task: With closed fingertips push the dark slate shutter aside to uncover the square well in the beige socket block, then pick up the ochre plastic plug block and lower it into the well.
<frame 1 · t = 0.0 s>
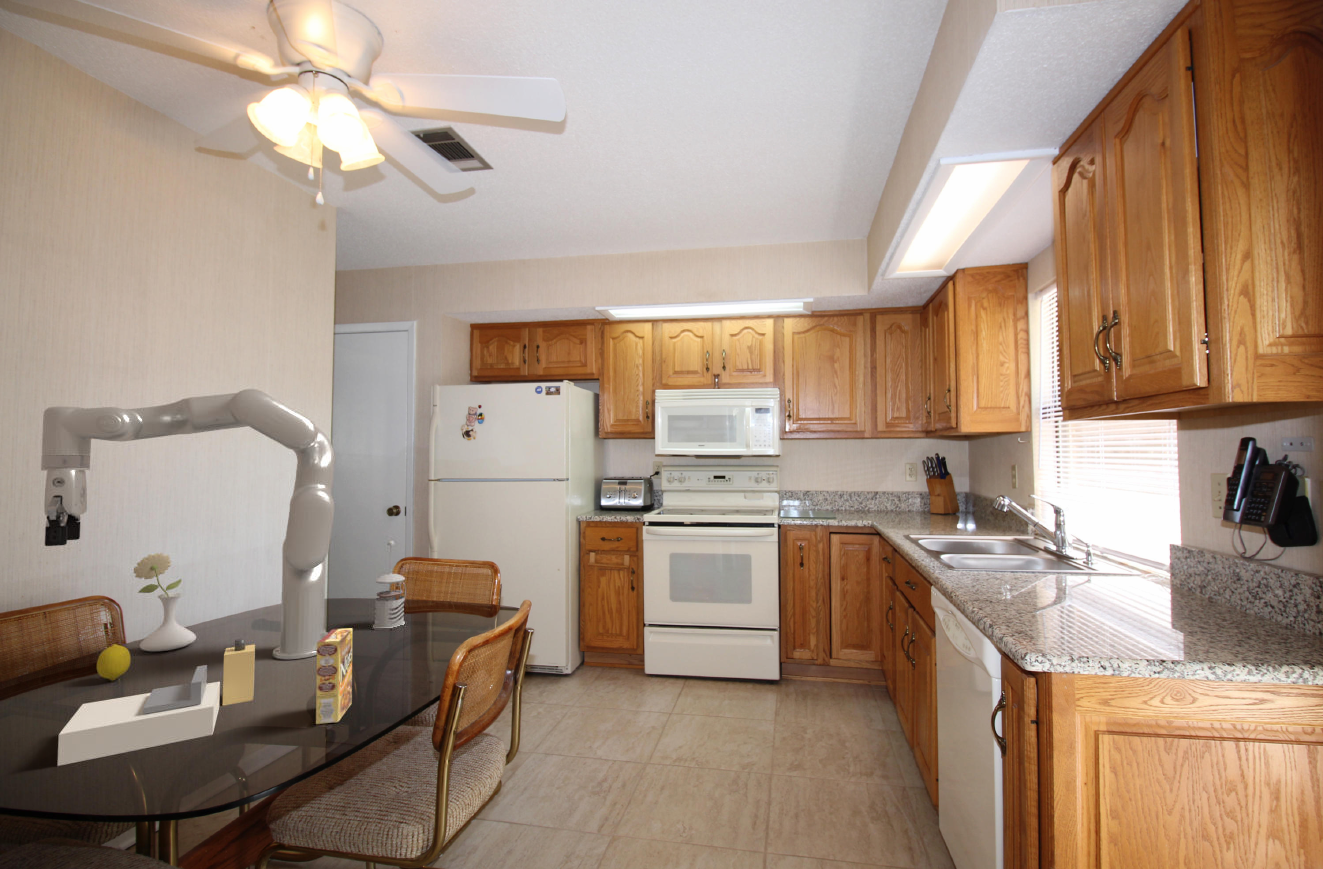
hand: (62, 542, 128), 31 cm above the table, fingers open, 9 cm apart
french press: (391, 625, 176), on the table
shutter: (176, 688, 109), point 7 cm above the table, slide at 0.0 cm
plug: (238, 698, 122), on the table
candy box: (334, 715, 115), on the table
socket: (146, 733, 107), on the table
lemon: (113, 681, 132), on the table
flower in vase: (164, 649, 154), on the table
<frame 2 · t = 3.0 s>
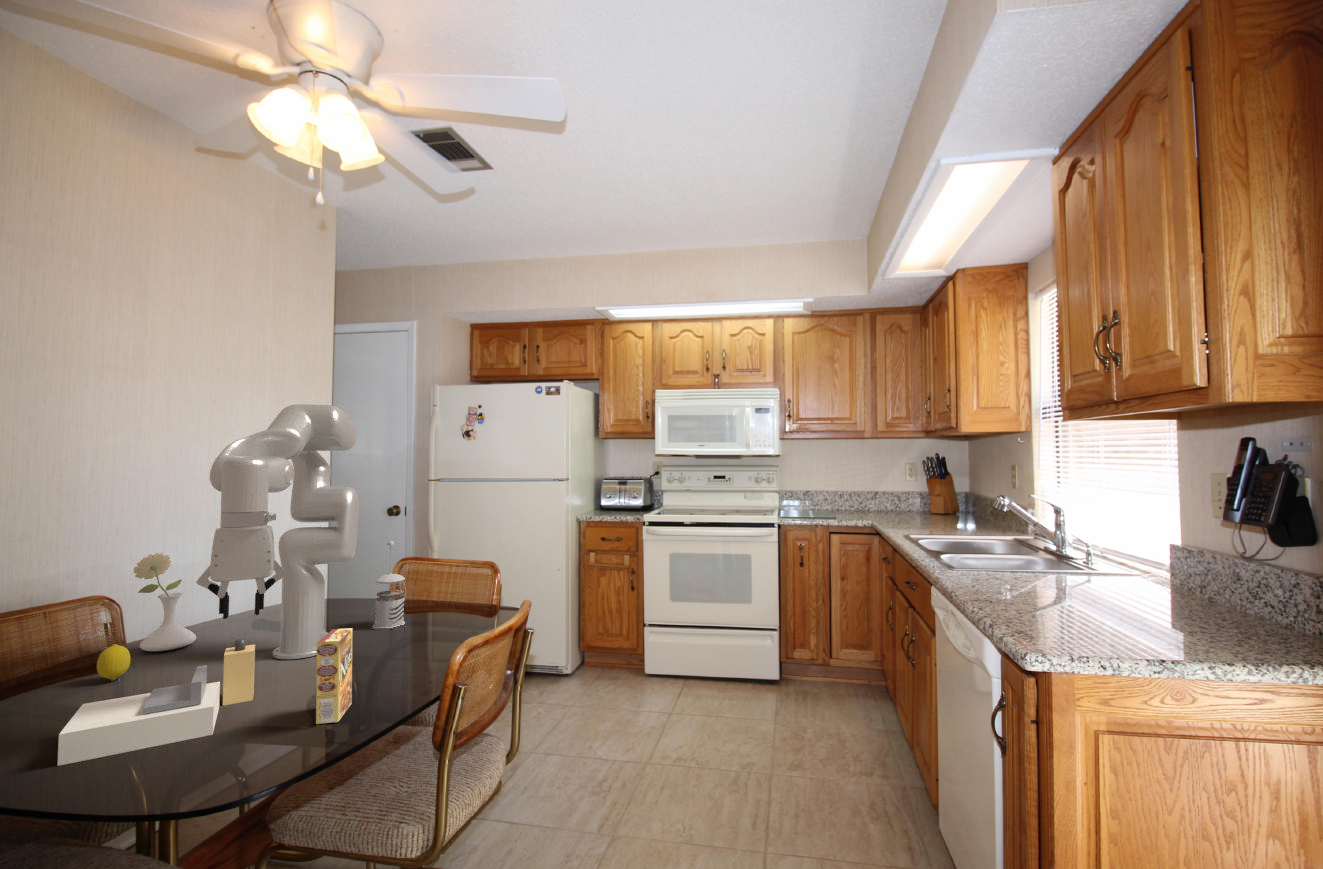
hand: (241, 614, 115), 19 cm above the table, fingers open, 4 cm apart
nothing on the table moved.
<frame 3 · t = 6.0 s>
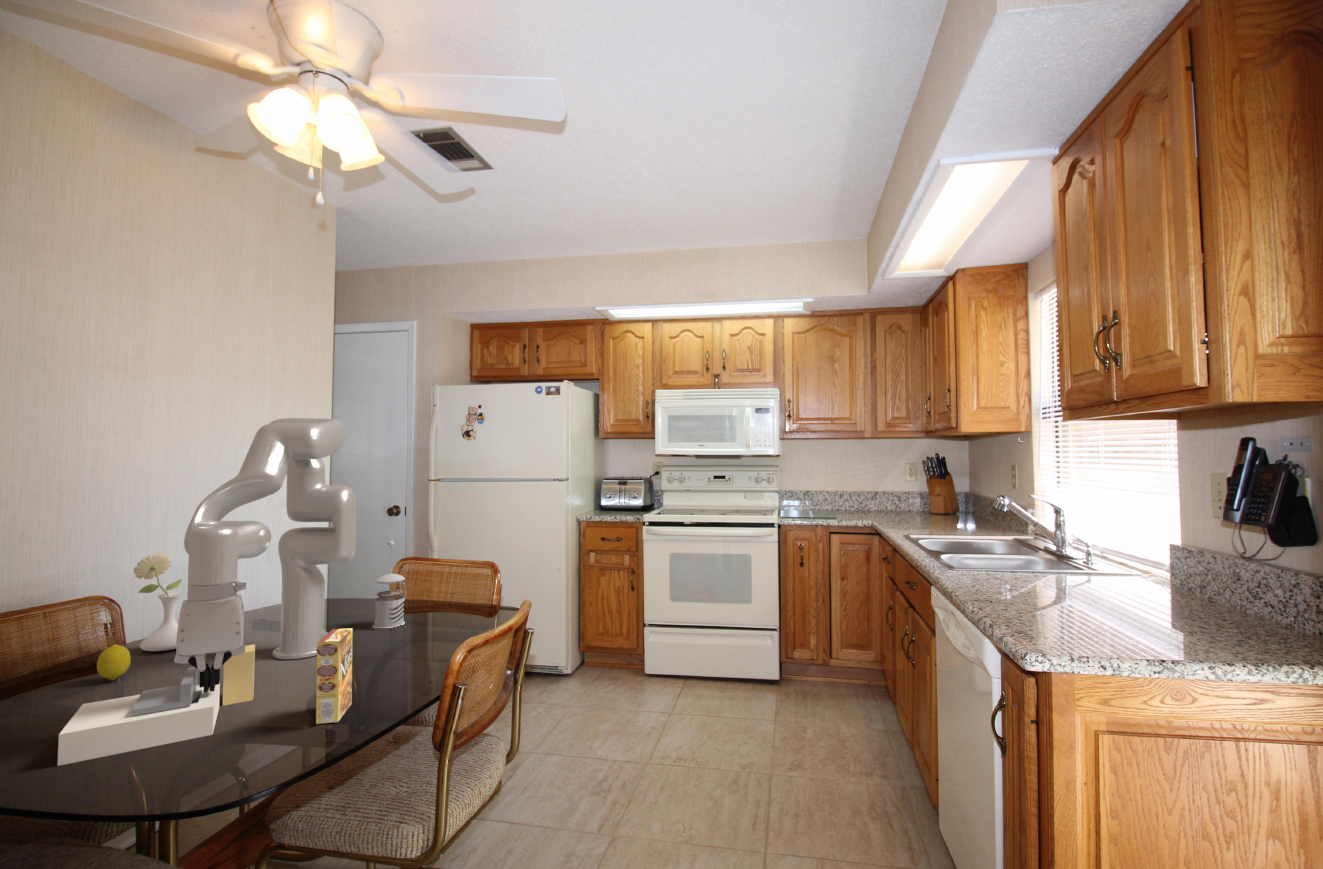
hand: (209, 689, 112), 6 cm above the table, fingers closed
shutter: (166, 689, 108), point 7 cm above the table, slide at 1.5 cm, touching gripper
everything else where it was.
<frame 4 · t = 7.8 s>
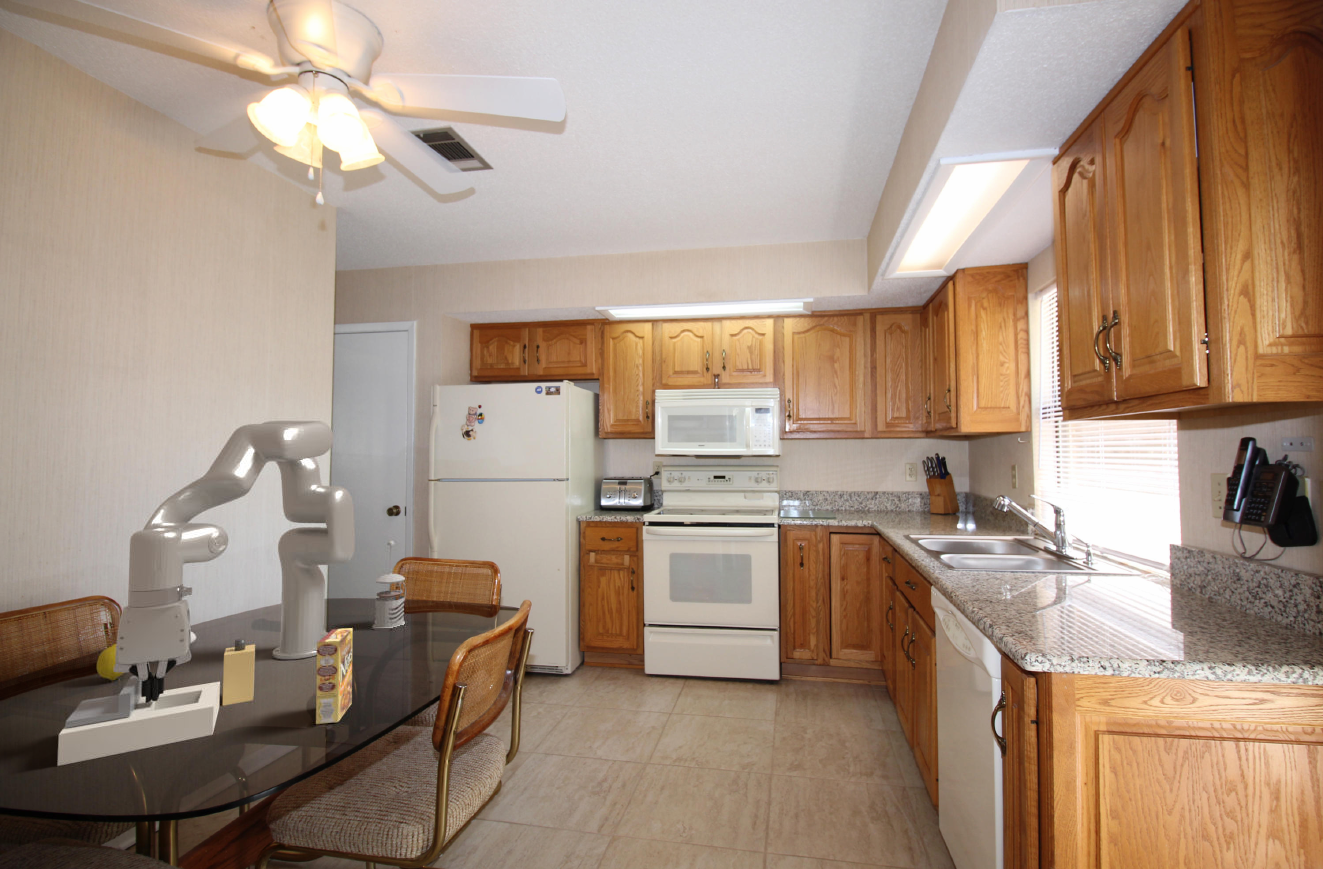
hand: (152, 699, 107), 6 cm above the table, fingers closed
shutter: (106, 699, 104), point 7 cm above the table, slide at 9.7 cm, touching gripper
everything else where it was.
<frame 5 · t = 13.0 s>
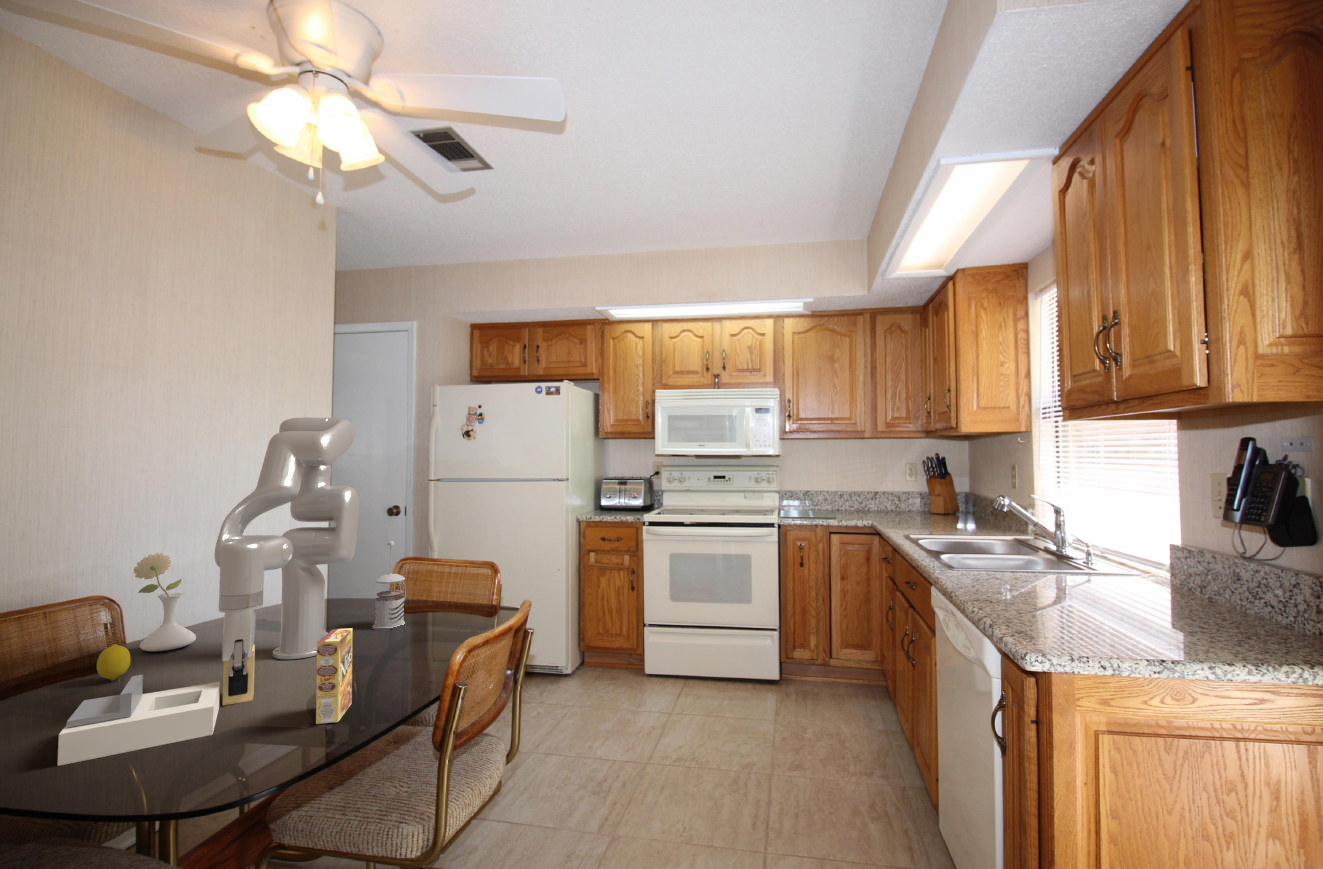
hand: (238, 689, 122), 2 cm above the table, fingers closed on plug, 5 cm apart
shutter: (107, 699, 104), point 7 cm above the table, slide at 9.5 cm
plug: (238, 698, 122), on the table, touching gripper
everything else where it was.
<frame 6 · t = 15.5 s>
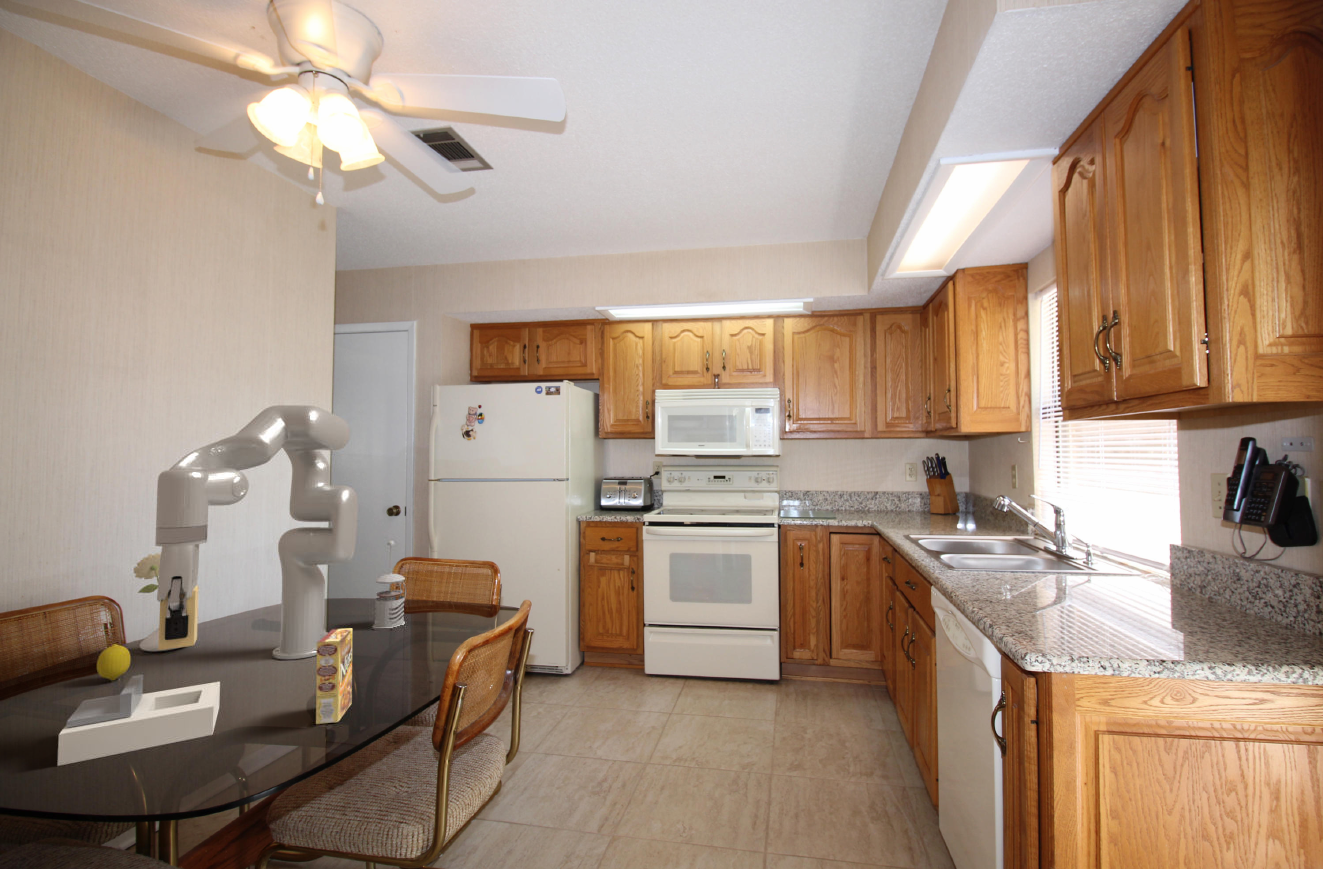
hand: (178, 633, 110), 17 cm above the table, fingers closed on plug, 5 cm apart
plug: (178, 644, 109), point 15 cm above the table, touching gripper
everything else where it was.
when the fingers open (6 cm above the table, at t = 18.3 s): plug drops 3 cm, resting on socket.
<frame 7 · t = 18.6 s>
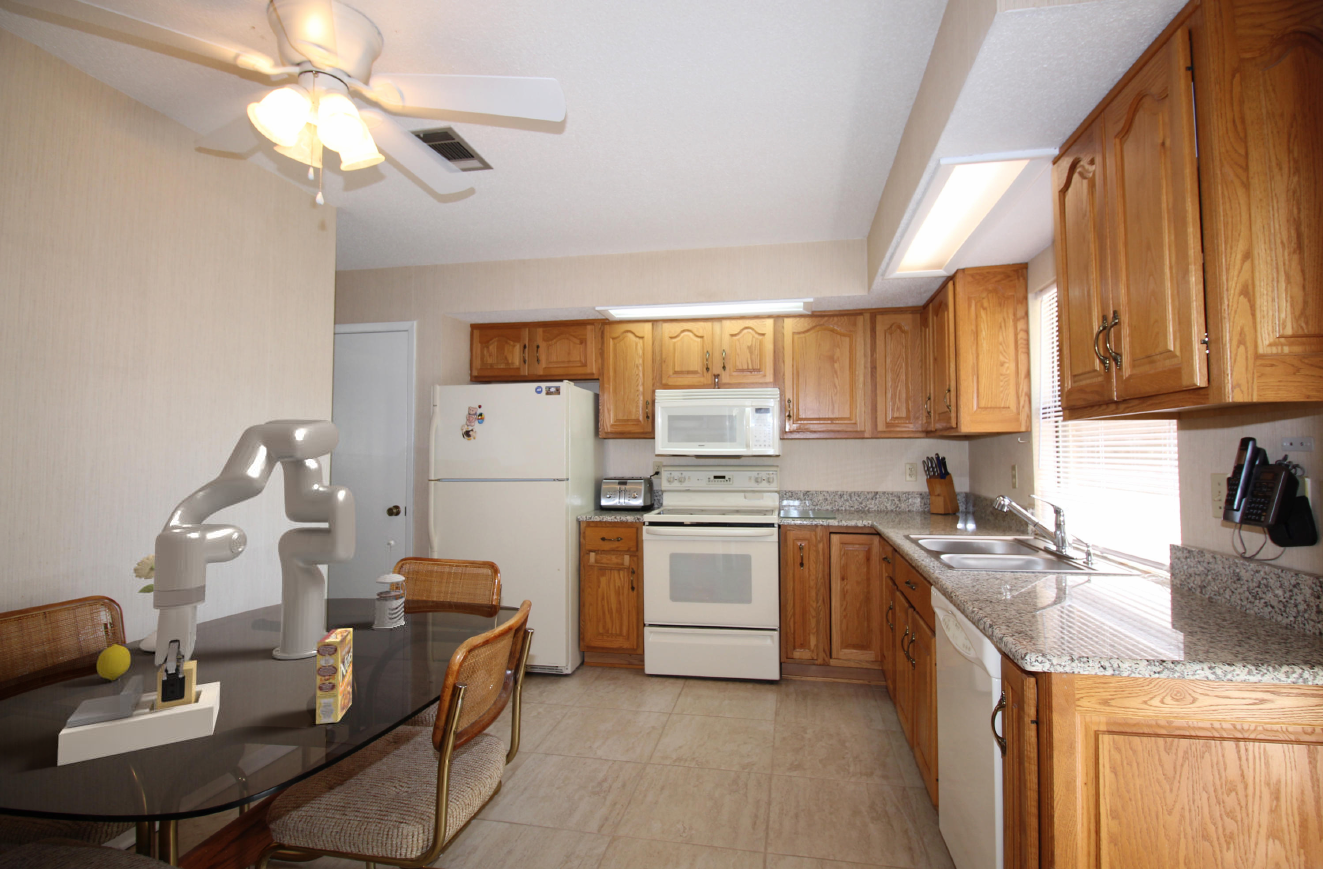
hand: (176, 691, 109), 7 cm above the table, fingers open, 8 cm apart
plug: (175, 721, 109), point 1 cm above the table, touching socket
everything else where it was.
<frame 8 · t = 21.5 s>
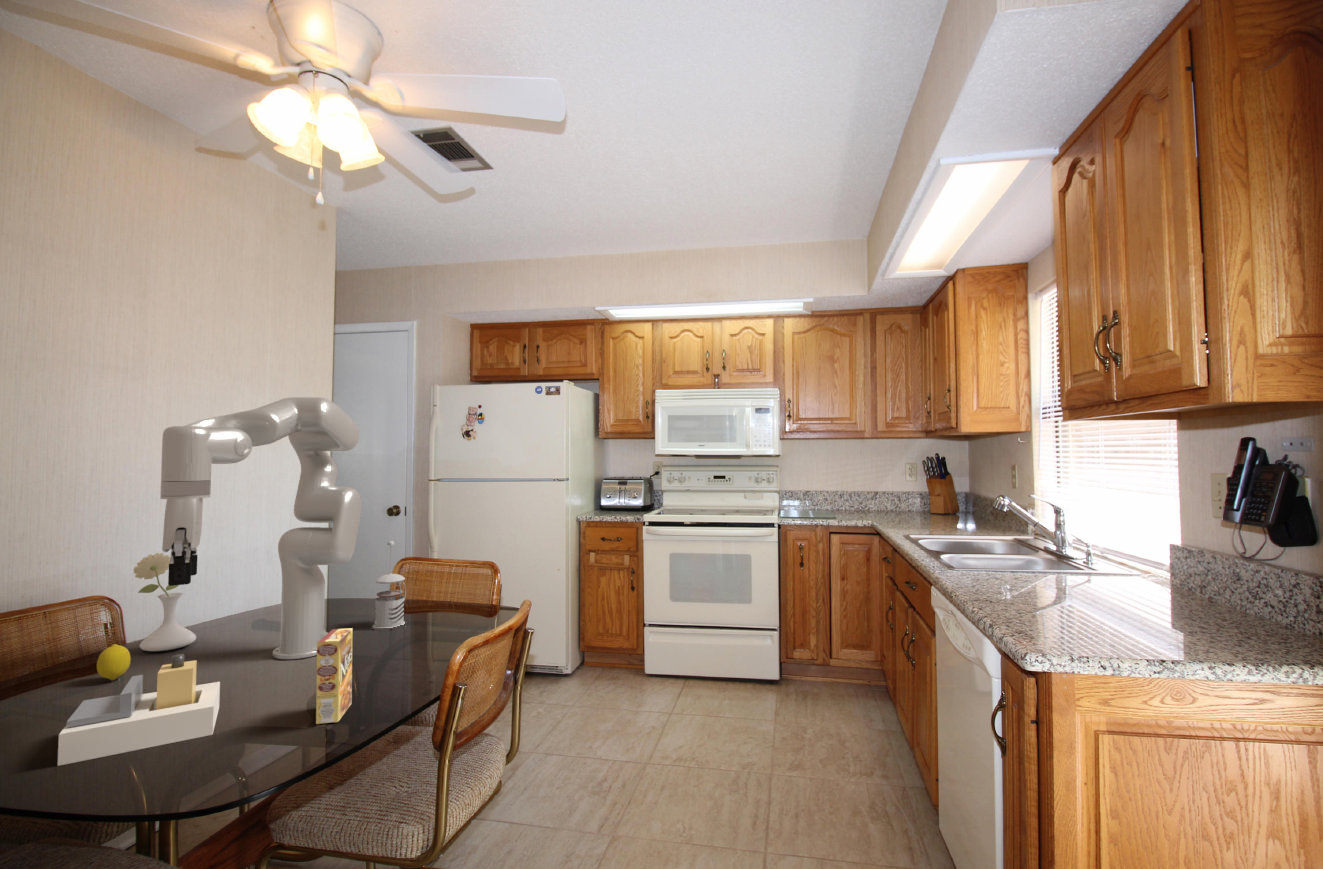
hand: (183, 580, 113), 26 cm above the table, fingers open, 9 cm apart
nothing on the table moved.
at the end: shutter slide at 9.5 cm; plug 0.1 cm from the target spot on the socket, point 1.1 cm above the socket's base; the gripper is holding nothing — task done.
